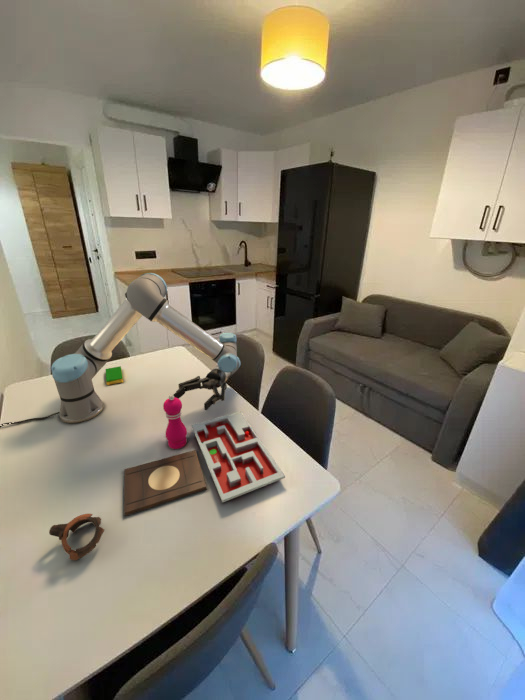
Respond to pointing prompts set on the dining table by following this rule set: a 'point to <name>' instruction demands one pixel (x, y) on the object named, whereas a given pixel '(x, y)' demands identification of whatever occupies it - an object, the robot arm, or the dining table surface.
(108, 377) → the dish sponge
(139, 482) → the board
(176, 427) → the pepper mill
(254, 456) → the maze game
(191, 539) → the dining table surface
